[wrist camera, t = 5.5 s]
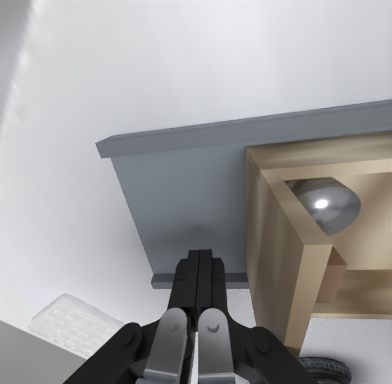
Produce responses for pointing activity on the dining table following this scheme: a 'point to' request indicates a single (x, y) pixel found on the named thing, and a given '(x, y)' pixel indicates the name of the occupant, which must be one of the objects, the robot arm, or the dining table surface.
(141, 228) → the rail board
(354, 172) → the wooden drawer
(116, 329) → the white flat textured slab
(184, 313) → the robot arm
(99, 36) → the dining table surface
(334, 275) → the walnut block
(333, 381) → the decorative vase
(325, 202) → the grey ball
